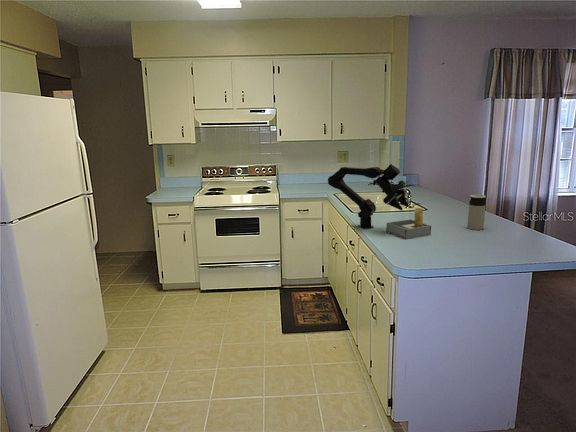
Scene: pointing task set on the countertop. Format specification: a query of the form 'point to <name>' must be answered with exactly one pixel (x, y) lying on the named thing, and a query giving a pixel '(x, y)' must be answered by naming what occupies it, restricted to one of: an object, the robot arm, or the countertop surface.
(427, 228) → the bore box
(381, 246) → the countertop surface
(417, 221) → the peg
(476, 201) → the travel mug
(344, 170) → the robot arm
